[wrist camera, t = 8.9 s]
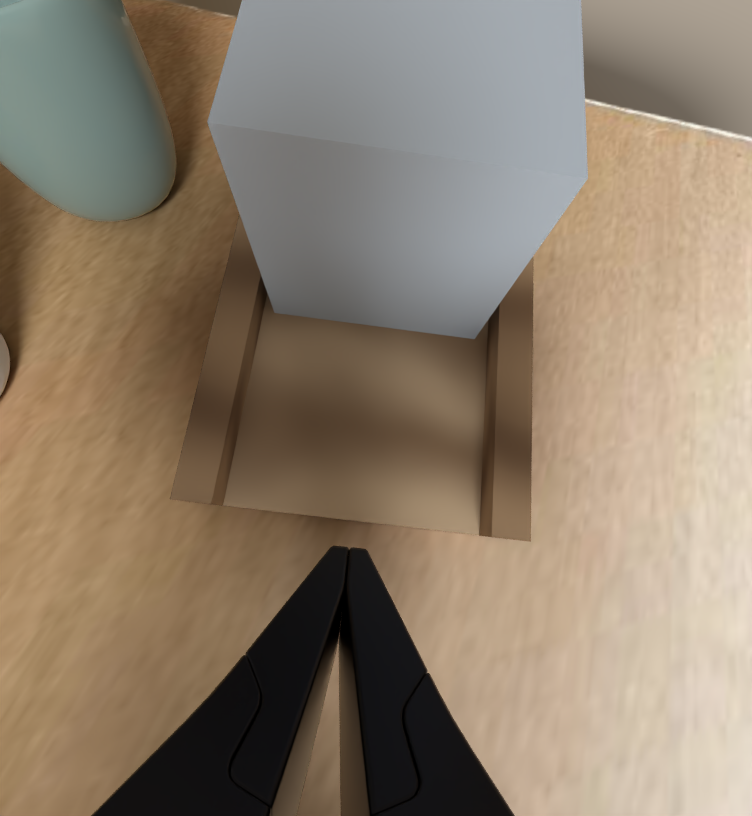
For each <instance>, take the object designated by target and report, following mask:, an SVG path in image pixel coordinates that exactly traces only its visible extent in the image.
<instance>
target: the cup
mask: <svg viewBox="0 0 752 816" xmlns="http://www.w3.org/2000/svg"><path fill="white" fill-rule="evenodd" d="M0 163H1V164H2V165H3V166H4V167H5V168H6V169H7V170H9V171H10V172H11V173H12V174H13V175H14V176H15V177H16V178H18V179H19V180H20V181H21V182H22V183H24V184H25V185H26V186H27V187H29V188H30V189H31V190H32V191H34V192H35V193H36V194H38V195H39V196H41V197H42V198H43V199H45V200H46V201H48V202H49V203H51V204H53V205H54V206H56V207H57V208H59V209H61V210H63V211H65V212H67V213H68V214H71V215H74V216H77V217H80V218H83V219H86V220H90V221H98V222H119V221H125V220H130V219H133V218H137V217H140V216H142V215H144V214H146V213H149V212H151V211H152V210H154V209H155V208H156V207H158V206H159V205H160V204H161V203H162V202H163V201H164V200H165V199H166V198H167V196H168V194H169V193H170V191H171V189H172V188H173V184H174V181H175V177H176V170H177V156H176V147H175V142H174V137H173V132H172V127H171V124H170V121H169V117H168V114H167V111H166V108H165V105H164V102H163V99H162V96H161V93H160V91H159V88H158V86H157V83H156V80H155V78H154V75H153V73H152V70H151V68H150V65H149V63H148V61H147V58H146V56H145V53H144V51H143V48H142V46H141V44H140V41H139V39H138V37H137V34H136V32H135V30H134V27H133V25H132V22H131V20H130V18H129V15H128V13H127V11H126V9H125V6H124V4H123V2H122V0H0Z"/></svg>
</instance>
